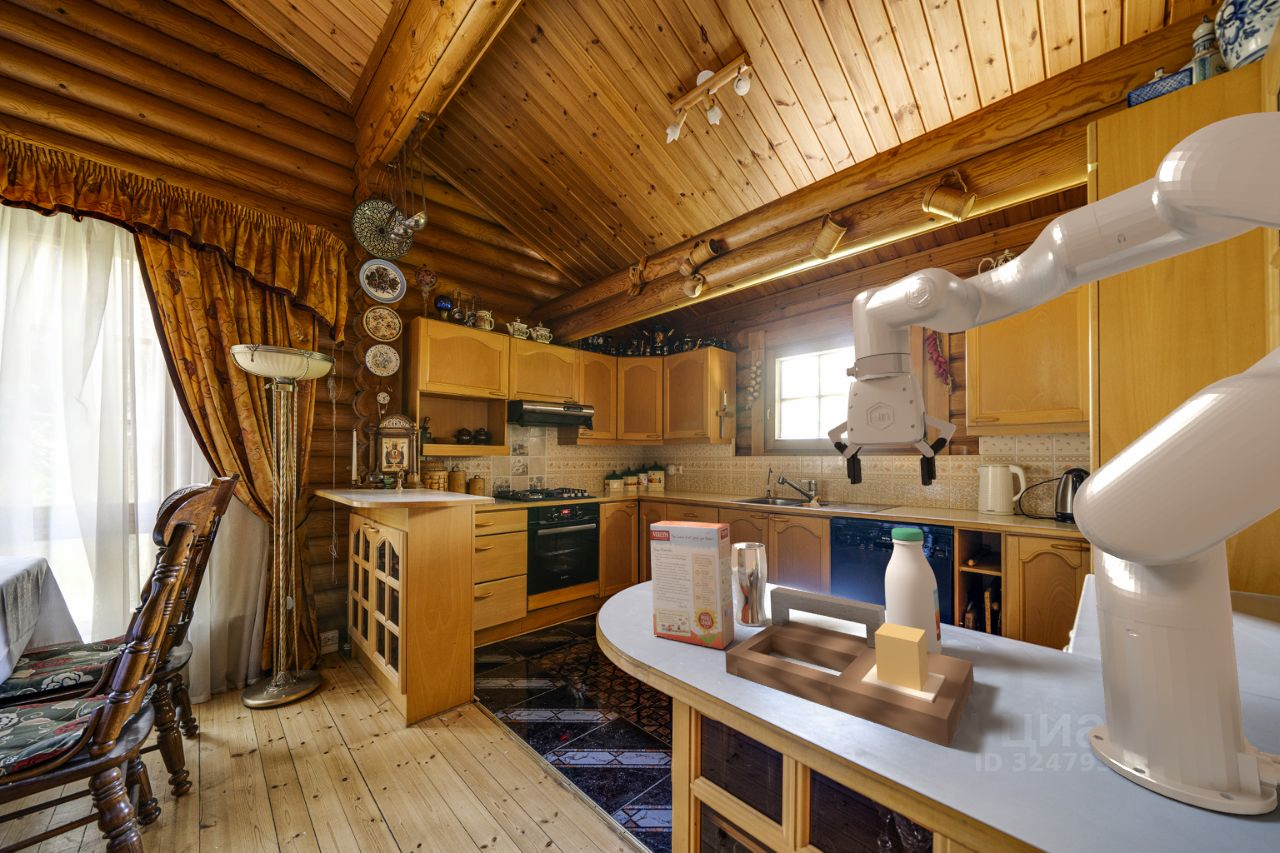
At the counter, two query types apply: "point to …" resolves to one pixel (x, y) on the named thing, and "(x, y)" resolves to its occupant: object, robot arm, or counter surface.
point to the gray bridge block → (826, 609)
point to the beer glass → (749, 582)
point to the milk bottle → (912, 588)
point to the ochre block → (901, 656)
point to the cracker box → (692, 582)
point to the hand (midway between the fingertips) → (890, 484)
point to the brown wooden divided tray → (855, 679)
